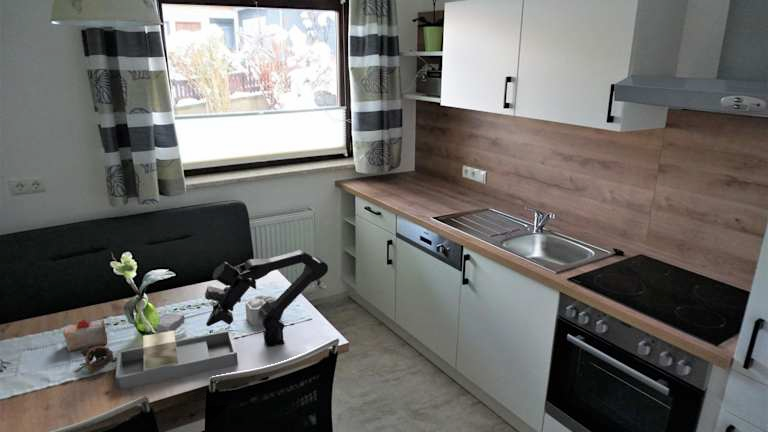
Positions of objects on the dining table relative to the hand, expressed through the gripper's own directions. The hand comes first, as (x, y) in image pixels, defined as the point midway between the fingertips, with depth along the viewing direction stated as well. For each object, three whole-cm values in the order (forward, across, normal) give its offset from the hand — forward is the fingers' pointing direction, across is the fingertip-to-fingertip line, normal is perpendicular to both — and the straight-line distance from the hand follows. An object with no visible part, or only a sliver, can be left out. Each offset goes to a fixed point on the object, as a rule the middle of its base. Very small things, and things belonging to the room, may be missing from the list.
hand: (207, 325), depth 181 cm
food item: (+38, -24, -22) cm, 50 cm away
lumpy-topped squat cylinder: (-6, -22, +25) cm, 34 cm away
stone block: (+19, -29, -3) cm, 35 cm away
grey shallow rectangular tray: (+16, +1, +1) cm, 16 cm away
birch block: (+18, +1, -5) cm, 18 cm away
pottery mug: (+34, -8, -18) cm, 40 cm away
